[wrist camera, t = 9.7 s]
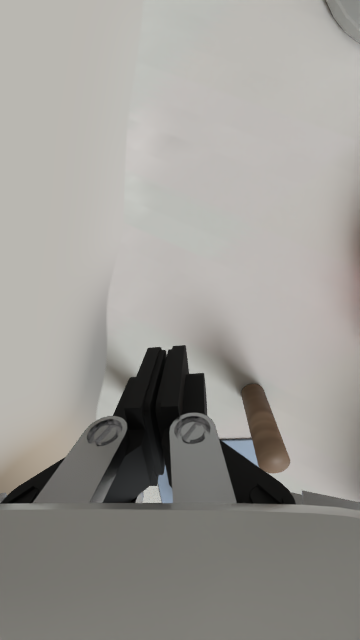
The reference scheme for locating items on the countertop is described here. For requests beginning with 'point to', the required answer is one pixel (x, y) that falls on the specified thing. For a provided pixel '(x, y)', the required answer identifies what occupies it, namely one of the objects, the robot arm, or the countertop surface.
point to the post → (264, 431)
